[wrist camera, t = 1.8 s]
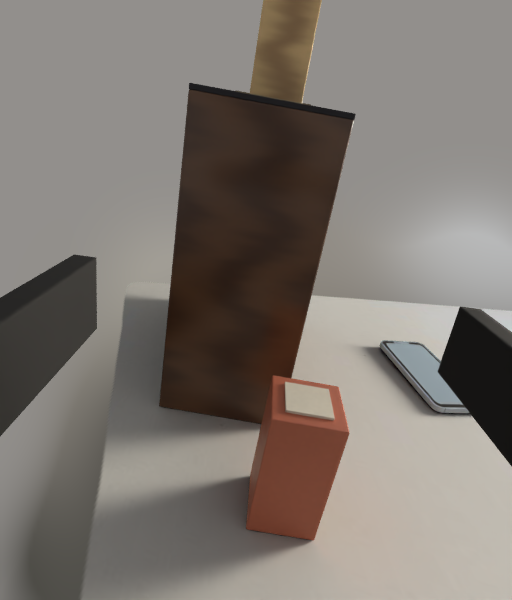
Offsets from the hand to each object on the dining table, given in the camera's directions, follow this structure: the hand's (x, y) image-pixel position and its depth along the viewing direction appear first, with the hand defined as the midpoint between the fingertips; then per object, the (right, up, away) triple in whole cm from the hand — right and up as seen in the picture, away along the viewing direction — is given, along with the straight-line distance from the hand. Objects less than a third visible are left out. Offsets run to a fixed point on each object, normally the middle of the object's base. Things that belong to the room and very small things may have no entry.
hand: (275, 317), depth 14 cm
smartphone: (+22, -10, +39) cm, 46 cm away
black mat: (+1, +20, +26) cm, 32 cm away
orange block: (+1, -15, +17) cm, 23 cm away
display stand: (-4, -6, +37) cm, 37 cm away
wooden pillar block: (+1, +20, +26) cm, 33 cm away
